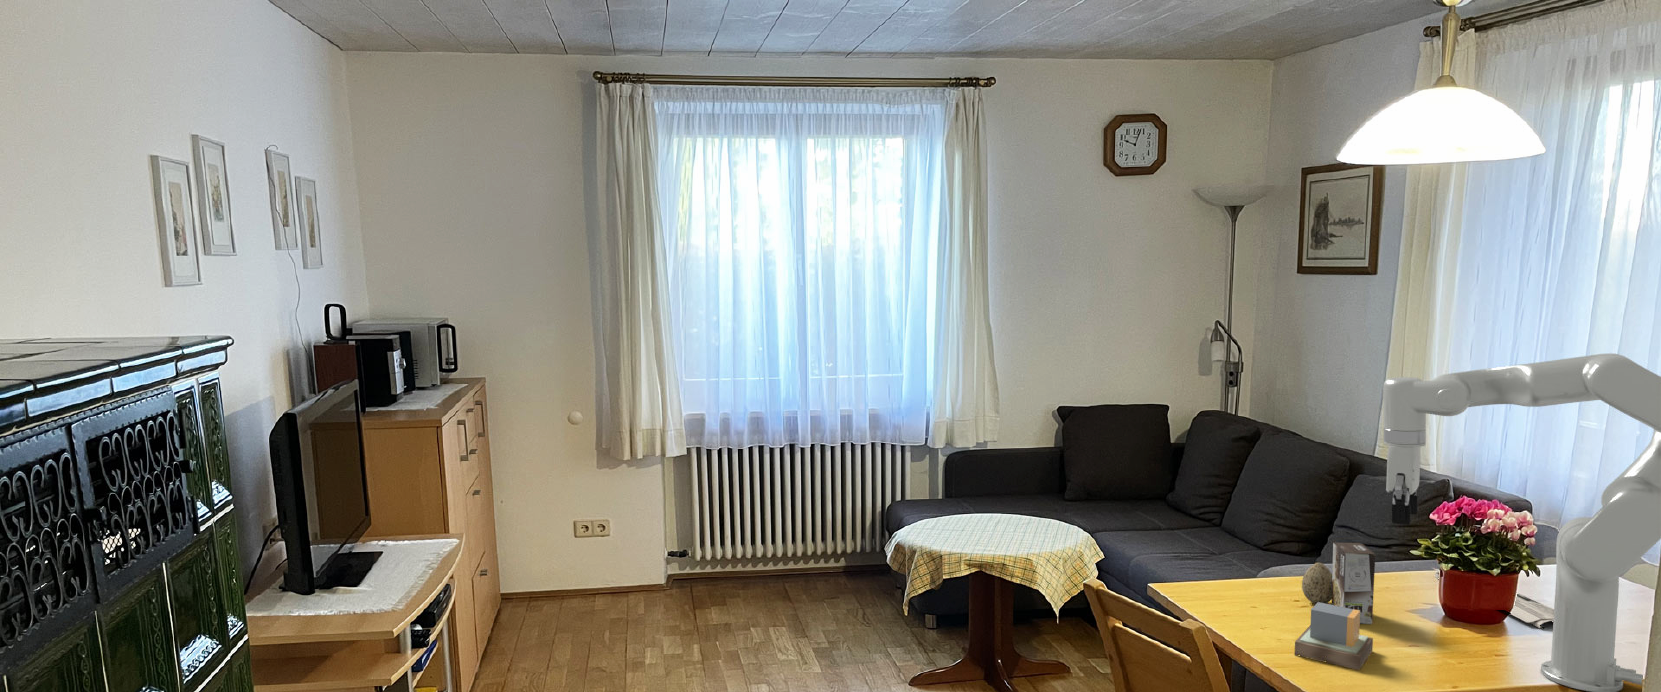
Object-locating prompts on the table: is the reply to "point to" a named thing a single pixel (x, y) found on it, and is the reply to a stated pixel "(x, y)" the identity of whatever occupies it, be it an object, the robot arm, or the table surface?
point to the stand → (1334, 650)
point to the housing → (1335, 624)
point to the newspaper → (1528, 610)
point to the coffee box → (1353, 578)
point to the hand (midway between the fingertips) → (1404, 518)
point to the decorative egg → (1317, 584)
